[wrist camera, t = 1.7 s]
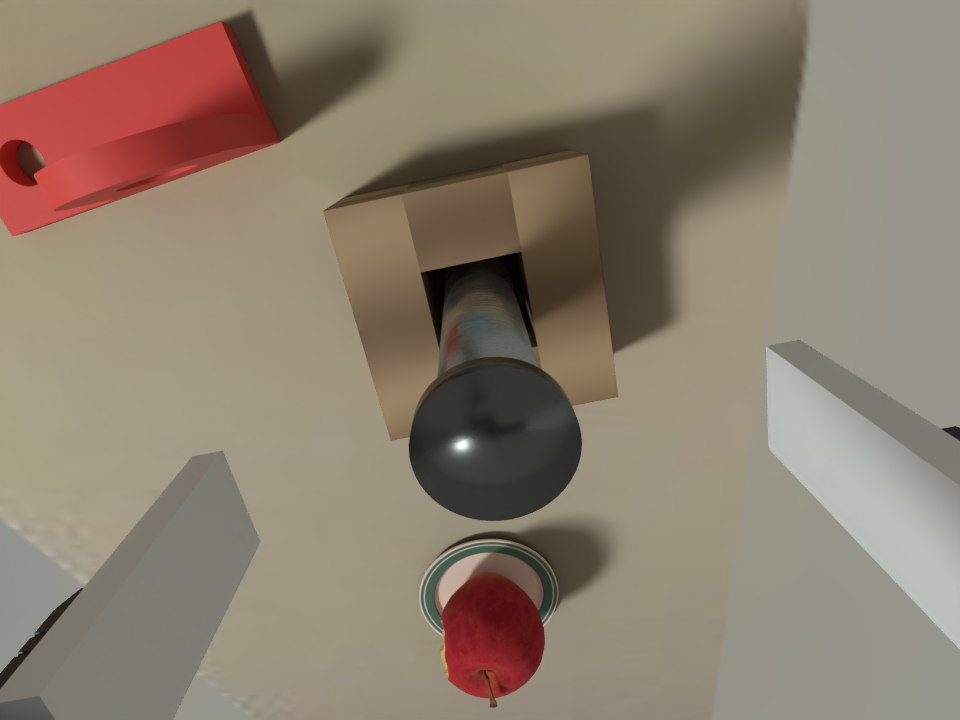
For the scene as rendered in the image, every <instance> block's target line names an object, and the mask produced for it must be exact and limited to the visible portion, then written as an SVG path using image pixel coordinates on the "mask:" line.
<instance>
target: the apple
mask: <svg viewBox="0 0 960 720" xmlns="http://www.w3.org/2000/svg"><path fill="white" fill-rule="evenodd" d="M558 595H559V591H558V583H557V579H556V576H555V574H554V572H553V570H552V568H551V567H550V565H549V564H548V563H547V561H546V560H545V559H544V558H543V557H542V556H541V555H539V554H538V553H537V552H535V551H534V550H532V549H531V548H529V547H526V546H524V545H522V544H519V543H516V542H513V541H508V540H502V539H480V540H474V541H469V542H466V543H463V544H460V545H457V546H455V547H453V548H451V549H449V550H448V551H446V552H444V553H443V554H442V555H440V556H439V557H438V558H437V559H436V560H435V561H434V562H433V563H432V564H431V565H430V566H429V568H428V569H427V571H426V572H425V574H424V576H423V579H422V582H421V585H420V591H419V602H420V607H421V610H422V613H423V615H424V617H425V619H426V621H427V622H428V623H429V624H430V626H431V627H432V628H433V629H434V630H435V631H436V632H437V633H439V634H440V635H442V636H443V639H442V647H441V649H440V654H441V659H442V663H443V665H444V667H445V670H446V672H445V673H446V676H447V678H448V680H449V681H450V682H451V683H452V684H454V685H455V686H456V687H457V688H459V689H460V690H462V691H464V692H465V693H468V694H470V695H473V696H476V697H480V698H490V707H497V703H496V701H495V699H494V698H498V697H501V696H505V695H508V694H510V693H512V692H514V691H516V690H517V689H519V688H520V687H521V686H523V685H524V684H525V683H526V682H527V681H528V680H529V679H530V678H531V677H532V676H533V675H534V673H535V672H536V670H537V668H538V667H539V665H540V663H541V659H542V655H543V651H544V644H545V638H544V626H545V624H546V623H547V622H548V621H549V620H550V618H551V616H552V615H553V613H554V611H555V608H556V606H557V602H558Z"/></svg>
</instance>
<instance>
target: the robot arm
mask: <svg viewBox="0 0 960 720" xmlns="http://www.w3.org/2000/svg"><path fill="white" fill-rule="evenodd" d="M766 357H767V401H768V445H769V449H770V450H771V451H772V452H773V453H774V455H775V456H776V457H777V458H778V459H779V460H780V461H781V462H782V463H783V464H784V465H785V466H786V467H787V468H788V469H789V470H790V471H791V472H792V473H793V474H794V475H795V477H796V478H797V479H798V480H799V481H801V483H802V484H803V485H804V486H805V487H806V488H807V489H808V490H809V491H810V492H811V493H812V494H813V495H814V497H815V498H816V499H817V500H818V501H819V502H820V503H821V504H822V505H823V506H824V507H825V508H826V509H827V510H828V511H829V512H830V513H831V514H832V515H833V517H834V518H835V519H836V520H837V521H838V522H839V523H840V524H841V525H842V526H843V527H844V528H845V529H846V530H847V531H848V532H849V533H850V534H851V535H852V536H853V538H854V539H855V540H856V541H857V542H858V543H859V544H860V545H861V546H862V547H863V548H864V549H865V550H866V551H867V552H868V553H869V554H870V555H871V556H872V557H873V559H874V560H875V561H876V562H877V563H878V564H879V565H880V566H881V567H882V568H883V569H884V570H885V571H886V572H887V573H888V574H889V575H890V576H891V577H892V578H893V580H894V581H895V582H896V583H897V584H898V585H899V586H900V587H901V588H902V589H903V590H904V591H905V592H906V593H907V594H908V595H909V596H910V597H911V598H912V600H913V601H914V602H915V603H916V604H917V605H918V606H919V607H920V608H921V609H922V610H923V611H924V612H925V613H926V614H927V615H928V616H929V617H930V618H931V620H932V621H933V622H935V624H936V625H937V626H938V627H939V628H940V629H941V630H942V631H943V632H944V633H945V634H946V635H947V636H948V637H949V638H950V639H951V641H952V642H953V643H954V644H955V645H956V646H957V647H958V648H959V649H960V428H959V427H956V426H955V427H949V428H944V429H940V428H939V427H937V426H935V425H934V424H932V423H931V422H929V421H927V420H926V419H924V418H923V417H921V416H920V415H918V414H916V413H915V412H913V411H912V410H910V409H908V408H907V407H905V406H903V405H902V404H900V403H899V402H897V401H896V400H894V399H893V398H891V397H889V396H888V395H886V394H884V393H883V392H881V391H880V390H878V389H877V388H875V387H874V386H872V385H870V384H869V383H867V382H865V381H864V380H862V379H861V378H859V377H857V376H856V375H854V374H853V373H851V372H850V371H848V370H847V369H845V368H843V367H842V366H840V365H838V364H837V363H835V362H834V361H832V360H831V359H829V358H828V357H826V356H824V355H823V354H821V353H820V352H818V351H816V350H815V349H813V348H812V347H810V346H809V345H807V344H805V343H804V342H802V341H801V340H797V341H791V342H786V343H781V344H775V345H770V346H766ZM259 544H260V540H259V537H258V535H257V532H256V530H255V528H254V525H253V523H252V520H251V518H250V516H249V513H248V511H247V508H246V506H245V504H244V501H243V499H242V496H241V494H240V491H239V489H238V487H237V484H236V482H235V479H234V477H233V475H232V472H231V470H230V467H229V465H228V463H227V460H226V458H225V455H224V453H223V451H219V452H214V453H209V454H204V455H199V456H193V457H192V458H191V459H190V460H189V461H188V463H187V464H186V465H185V466H184V467H183V469H182V470H181V471H180V472H179V474H178V475H177V476H176V477H175V478H174V480H173V481H172V482H171V483H170V484H169V486H168V487H167V488H166V489H165V490H164V492H163V493H162V494H161V495H160V497H159V498H158V499H157V500H156V501H155V503H154V504H153V505H152V506H151V507H150V509H149V510H148V511H147V512H146V513H145V515H144V516H143V517H142V518H141V520H140V521H139V522H138V523H137V524H136V526H135V527H134V528H133V529H132V530H131V532H130V533H129V534H128V535H127V536H126V538H125V539H124V540H123V541H122V542H121V544H120V545H119V546H118V547H117V549H116V550H115V551H114V552H113V553H112V555H111V556H110V557H109V558H108V559H107V561H106V562H105V563H104V564H103V565H102V567H101V568H100V569H99V570H98V572H97V573H96V574H95V575H94V576H93V578H92V579H91V580H90V581H89V582H88V584H87V585H86V586H85V587H84V588H81V589H80V590H78V591H77V592H76V593H75V594H73V595H72V596H71V597H70V598H68V599H67V600H66V601H65V602H63V603H62V604H61V605H60V606H59V607H57V608H56V609H55V610H54V611H53V612H52V613H51V614H50V616H49V617H48V618H47V619H46V620H45V621H44V623H43V624H42V625H41V626H40V627H39V629H38V630H37V631H36V632H35V637H32V638H30V639H29V640H28V642H27V643H26V644H25V645H24V646H23V647H22V649H21V650H20V651H19V652H18V657H14V658H13V659H12V660H11V662H10V663H9V664H8V665H7V666H6V667H5V668H4V670H3V671H2V672H1V673H0V720H173V718H174V716H175V714H176V712H177V710H178V708H179V706H180V704H181V701H182V700H183V698H184V696H185V694H186V692H187V690H188V688H189V686H190V683H191V682H192V680H193V677H194V676H195V674H196V671H197V669H198V667H199V665H200V663H201V661H202V659H203V657H204V655H205V653H206V651H207V649H208V647H209V645H210V643H211V641H212V639H213V637H214V635H215V633H216V631H217V629H218V627H219V625H220V623H221V621H222V619H223V617H224V615H225V613H226V611H227V609H228V606H229V604H230V602H231V600H232V598H233V596H234V594H235V592H236V590H237V588H238V586H239V584H240V582H241V580H242V578H243V576H244V574H245V572H246V570H247V568H248V566H249V564H250V562H251V560H252V558H253V556H254V554H255V552H256V550H257V548H258V546H259Z"/></svg>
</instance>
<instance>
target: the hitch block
mask: <svg viewBox="0 0 960 720" xmlns="http://www.w3.org/2000/svg"><path fill="white" fill-rule="evenodd" d="M323 212H324V216H325V219H326V222H327V226H328V229H329V233H330V236H331V239H332V243H333V246H334V249H335V253H336V256H337V260H338V263H339V266H340V270H341V273H342V277H343V280H344V283H345V287H346V290H347V293H348V297H349V300H350V304H351V307H352V310H353V314H354V317H355V321H356V324H357V327H358V331H359V334H360V337H361V341H362V344H363V348H364V351H365V354H366V358H367V361H368V364H369V368H370V371H371V375H372V378H373V381H374V385H375V388H376V392H377V395H378V398H379V402H380V405H381V408H382V412H383V415H384V419H385V422H386V425H387V429H388V432H389V436H390V439H391V440H396V439H401V438H407V437H410V432H411V426H412V420H413V416H414V412H415V409H416V406H417V404H418V402H419V400H420V398H421V396H422V395H423V393H424V392H425V390H426V389H427V388H428V387H429V385H430V384H431V383H432V382H433V381H434V380H435V379H436V378H437V373H438V362H439V351H440V340H441V330H442V317H441V312H440V308H439V304H438V300H437V295H436V291H435V287H434V283H433V278H432V274H431V270H435V269H440V268H445V267H449V266H454V265H459V264H464V263H469V262H474V261H479V260H484V259H488V258H493V257H498V256H503V255H508V254H513V253H517V259H518V264H519V270H520V276H521V281H522V287H523V292H524V298H525V304H526V309H527V315H528V317H523V321H524V324H525V327H526V330H527V334H528V337H529V340H530V343H531V346H532V349H533V353H534V356H535V359H536V362H537V365H538V368H540V369H542V370H543V371H545V372H546V373H548V374H549V375H550V376H551V377H553V378H554V379H555V380H556V381H557V382H558V383H559V385H560V386H561V387H562V388H563V390H564V391H565V393H566V395H567V396H568V398H569V400H570V403H571V405H572V406H573V405H579V404H584V403H589V402H594V401H599V400H605V399H610V398H615V397H618V392H617V384H616V376H615V368H614V359H613V351H612V343H611V335H610V327H609V319H608V311H607V303H606V294H605V286H604V278H603V270H602V262H601V254H600V246H599V238H598V229H597V221H596V213H595V205H594V197H593V189H592V181H591V173H590V164H589V156H588V155H586V154H583V153H579V152H575V151H572V150H567V151H562V152H557V153H553V154H548V155H543V156H539V157H534V158H529V159H524V160H520V161H515V162H510V163H506V164H501V165H496V166H492V167H487V168H482V169H477V170H473V171H468V172H463V173H459V174H454V175H449V176H444V177H440V178H435V179H430V180H426V181H421V182H416V183H411V184H407V185H402V186H397V187H393V188H388V189H383V190H378V191H374V192H369V193H364V194H360V195H355V196H350V197H345V198H342V199H341V200H339V201H338V202H336V203H335V204H333V205H332V206H330V207H329V208H327V209H326V210H324V211H323Z"/></svg>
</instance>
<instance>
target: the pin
mask: <svg viewBox="0 0 960 720" xmlns="http://www.w3.org/2000/svg"><path fill="white" fill-rule="evenodd" d="M581 448H582V439H581V431H580V427H579V423H578V420H577V418H576V415H575V413H574V410H573V408H572V405H571V403H570V400H569V398H568V396H567V395H566V393H565V391H564V390H563V388H562V387H561V386H560V385H559V383H558V382H557V381H556V380H555V379H554V378H553V377H551V376H550V375H549V374H548V373H546V372H545V371H543V370H542V369H540V368H538V365H537V362H536V359H535V356H534V353H533V349H532V346H531V343H530V340H529V337H528V334H527V330H526V327H525V324H524V321H523V318H522V314H521V311H520V308H519V305H518V302H517V298H516V295H515V292H514V289H513V286H512V282H511V279H510V276H509V273H508V271H507V269H506V267H505V266H504V264H503V263H502V262H501V261H500V260H499V259H497V258H496V257H493V258H488V259H484V260H479V261H474V262H469V263H464V264H459V265H454V266H451V268H450V270H449V272H448V274H447V278H446V286H445V297H444V308H443V319H442V330H441V340H440V351H439V362H438V373H437V378H436V379H435V380H434V381H433V382H432V383H431V384H430V385H429V387H428V388H427V389H426V390H425V392H424V393H423V395H422V396H421V398H420V400H419V402H418V404H417V406H416V409H415V412H414V416H413V420H412V426H411V432H410V440H409V456H410V461H411V466H412V468H413V471H414V474H415V476H416V478H417V480H418V482H419V483H420V485H421V486H422V488H423V489H424V490H425V492H426V493H427V494H428V495H429V496H430V497H431V498H432V499H434V500H435V501H436V502H437V503H439V504H440V505H441V506H443V507H445V508H446V509H448V510H450V511H452V512H454V513H456V514H458V515H462V516H465V517H468V518H472V519H477V520H486V521H501V520H509V519H514V518H518V517H522V516H525V515H527V514H530V513H533V512H535V511H537V510H539V509H541V508H542V507H544V506H545V505H547V504H549V503H550V502H551V501H552V500H554V499H555V498H556V497H557V496H558V495H559V494H560V493H561V492H562V491H563V490H564V489H565V488H566V486H567V485H568V484H569V482H570V481H571V479H572V477H573V475H574V474H575V472H576V469H577V467H578V464H579V460H580V456H581Z"/></svg>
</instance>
